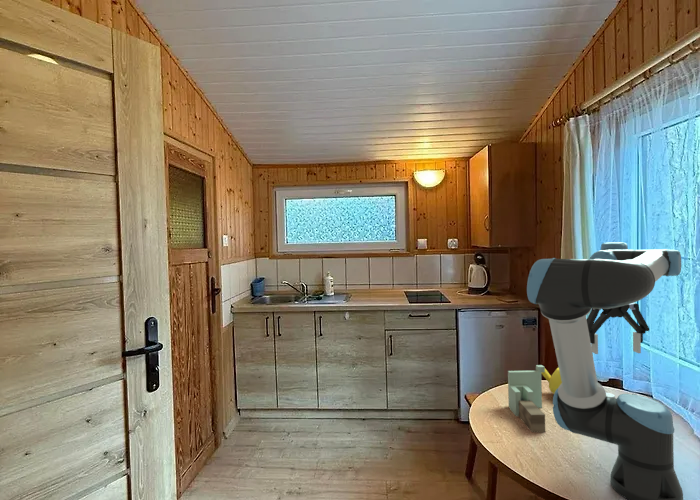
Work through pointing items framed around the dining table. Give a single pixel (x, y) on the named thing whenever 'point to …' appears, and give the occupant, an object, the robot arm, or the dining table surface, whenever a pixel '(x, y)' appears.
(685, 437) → the dining table surface
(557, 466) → the dining table surface
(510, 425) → the dining table surface
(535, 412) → the rail
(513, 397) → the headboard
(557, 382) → the teapot
